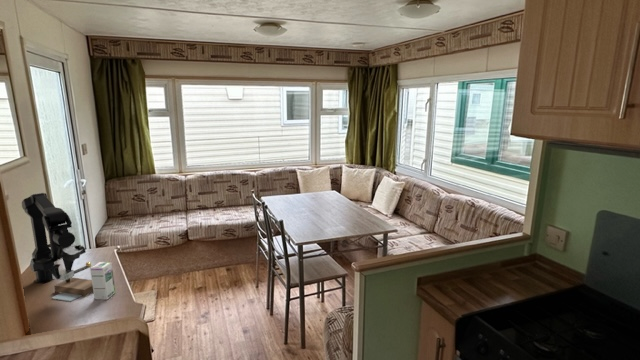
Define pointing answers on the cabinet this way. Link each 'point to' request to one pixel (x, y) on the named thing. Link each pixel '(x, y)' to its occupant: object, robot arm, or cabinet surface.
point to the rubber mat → (66, 296)
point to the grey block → (64, 274)
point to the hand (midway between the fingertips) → (63, 276)
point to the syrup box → (102, 280)
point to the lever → (81, 269)
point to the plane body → (75, 286)
